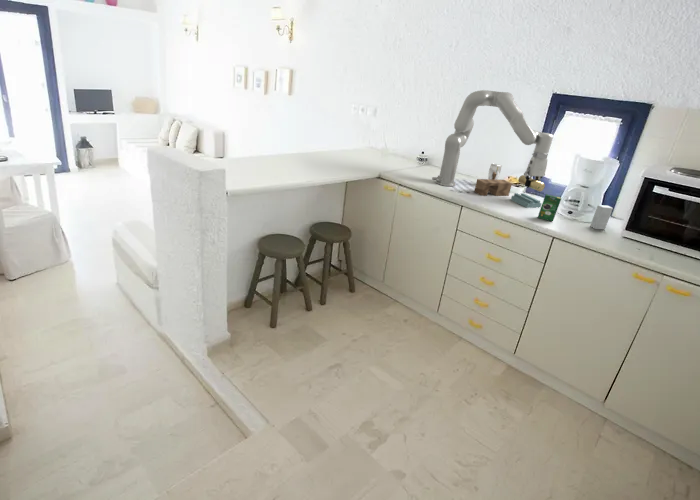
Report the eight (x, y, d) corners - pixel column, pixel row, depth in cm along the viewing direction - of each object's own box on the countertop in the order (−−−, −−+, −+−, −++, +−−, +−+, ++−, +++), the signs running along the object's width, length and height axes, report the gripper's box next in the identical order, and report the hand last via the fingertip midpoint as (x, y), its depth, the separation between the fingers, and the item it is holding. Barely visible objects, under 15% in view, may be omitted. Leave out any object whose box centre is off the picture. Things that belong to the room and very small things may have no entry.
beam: (481, 195, 248) (485, 183, 244) (474, 191, 254) (477, 179, 251) (508, 195, 255) (512, 183, 251) (500, 191, 261) (503, 179, 258)
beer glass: (496, 189, 265) (502, 166, 259) (485, 188, 266) (491, 165, 260) (495, 187, 271) (501, 164, 265) (484, 185, 272) (490, 163, 266)
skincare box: (599, 226, 219) (608, 205, 214) (604, 229, 215) (613, 208, 210) (589, 225, 218) (597, 204, 213) (594, 229, 214) (603, 207, 209)
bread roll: (543, 191, 233) (546, 183, 231) (536, 191, 232) (539, 182, 230) (523, 183, 247) (526, 175, 245) (517, 183, 245) (519, 174, 243)
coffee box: (553, 220, 219) (561, 197, 214) (553, 222, 217) (561, 198, 211) (537, 216, 222) (545, 193, 217) (537, 218, 220) (544, 194, 214)
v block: (526, 207, 236) (528, 201, 234) (510, 199, 247) (512, 193, 246) (540, 207, 239) (542, 201, 237) (523, 199, 251) (525, 193, 249)
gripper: (532, 156, 225) (523, 188, 233) (556, 157, 231) (546, 188, 239) (523, 153, 231) (514, 184, 239) (546, 154, 237) (537, 185, 245)
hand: (530, 186), depth 239 cm, fingers closed on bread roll, 5 cm apart
